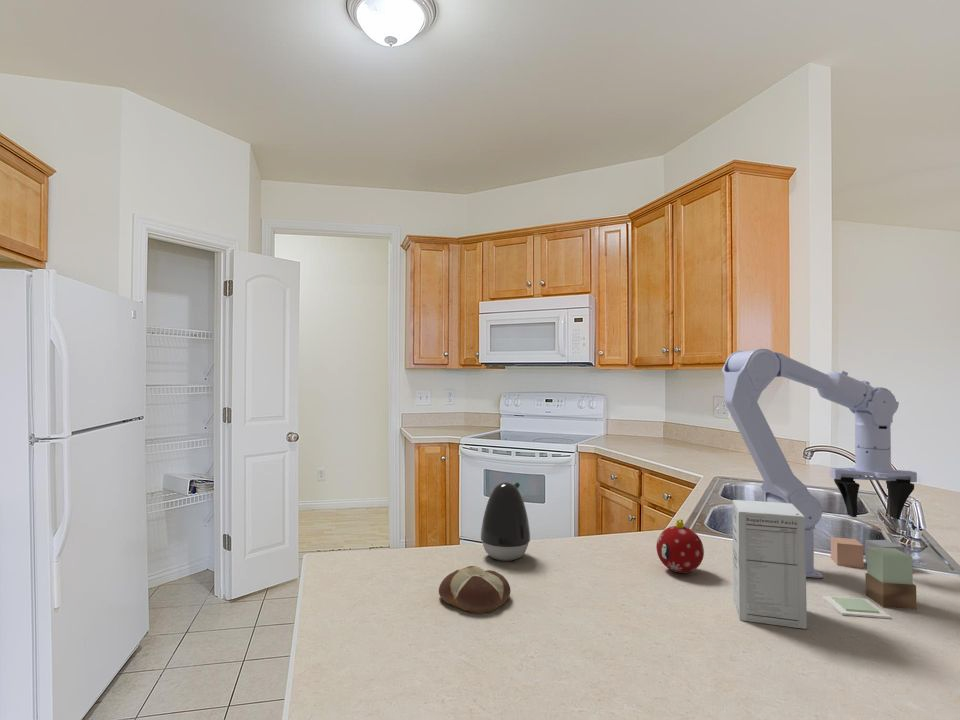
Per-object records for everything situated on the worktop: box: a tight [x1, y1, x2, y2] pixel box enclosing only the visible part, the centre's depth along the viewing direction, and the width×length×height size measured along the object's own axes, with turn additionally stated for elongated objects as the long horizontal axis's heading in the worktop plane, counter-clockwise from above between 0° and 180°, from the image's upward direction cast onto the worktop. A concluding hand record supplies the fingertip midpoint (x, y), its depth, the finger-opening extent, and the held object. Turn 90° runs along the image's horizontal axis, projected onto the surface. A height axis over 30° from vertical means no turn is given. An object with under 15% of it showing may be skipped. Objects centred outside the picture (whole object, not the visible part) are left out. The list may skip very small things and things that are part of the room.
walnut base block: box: [864, 572, 918, 610], centre depth 91 cm, size 5×5×4 cm
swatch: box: [820, 595, 892, 620], centre depth 89 cm, size 7×7×1 cm
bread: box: [438, 565, 512, 614], centre depth 91 cm, size 11×11×5 cm
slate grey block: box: [864, 539, 905, 563], centre depth 110 cm, size 4×4×4 cm
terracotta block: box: [830, 536, 865, 569], centre depth 111 cm, size 4×4×4 cm
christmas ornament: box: [656, 518, 705, 574], centre depth 105 cm, size 9×9×10 cm
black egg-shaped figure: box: [480, 482, 531, 562], centre depth 112 cm, size 10×10×15 cm
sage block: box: [866, 547, 914, 585], centre depth 92 cm, size 4×4×4 cm
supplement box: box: [731, 499, 808, 630], centre depth 87 cm, size 10×9×17 cm
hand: (873, 517), depth 107 cm, fingers open, 7 cm apart
